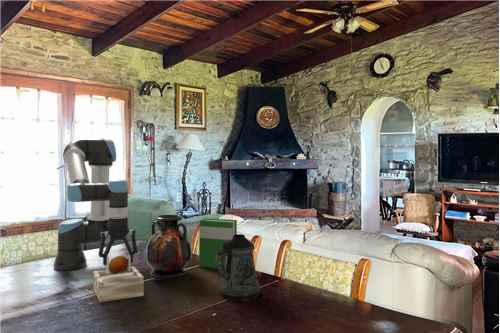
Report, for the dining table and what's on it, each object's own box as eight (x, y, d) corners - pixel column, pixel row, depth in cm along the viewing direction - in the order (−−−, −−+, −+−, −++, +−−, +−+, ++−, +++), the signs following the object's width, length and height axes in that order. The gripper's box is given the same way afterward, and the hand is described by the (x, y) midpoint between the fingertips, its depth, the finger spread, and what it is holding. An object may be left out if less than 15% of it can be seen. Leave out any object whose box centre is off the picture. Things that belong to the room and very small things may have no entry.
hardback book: (236, 265, 211) (236, 219, 210) (231, 269, 204) (232, 222, 203) (204, 263, 216) (204, 217, 215) (198, 266, 208) (199, 220, 207)
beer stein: (264, 291, 174) (265, 233, 173) (249, 307, 155) (250, 242, 154) (228, 286, 179) (229, 229, 178) (210, 301, 161) (211, 238, 160)
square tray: (93, 288, 173) (93, 271, 172) (134, 283, 181) (134, 266, 181) (99, 302, 158) (99, 283, 158) (143, 295, 166) (143, 277, 166)
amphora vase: (135, 278, 188) (136, 218, 187) (162, 266, 208) (162, 211, 207) (175, 284, 180) (176, 221, 179) (199, 271, 200) (200, 215, 199)
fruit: (126, 272, 164) (117, 255, 164) (111, 281, 165) (102, 264, 166) (136, 267, 172) (127, 250, 172) (121, 275, 173) (112, 259, 174)
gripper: (93, 220, 160) (92, 277, 161) (145, 217, 170) (145, 271, 171) (90, 217, 166) (90, 272, 167) (141, 214, 176) (141, 266, 177)
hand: (118, 271), depth 169 cm, fingers closed on fruit, 8 cm apart
